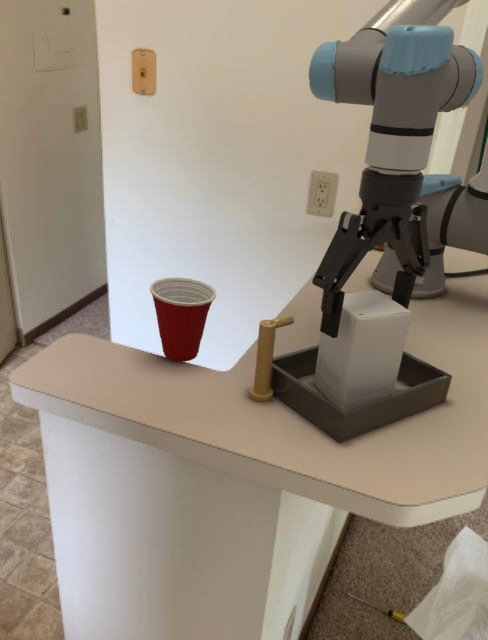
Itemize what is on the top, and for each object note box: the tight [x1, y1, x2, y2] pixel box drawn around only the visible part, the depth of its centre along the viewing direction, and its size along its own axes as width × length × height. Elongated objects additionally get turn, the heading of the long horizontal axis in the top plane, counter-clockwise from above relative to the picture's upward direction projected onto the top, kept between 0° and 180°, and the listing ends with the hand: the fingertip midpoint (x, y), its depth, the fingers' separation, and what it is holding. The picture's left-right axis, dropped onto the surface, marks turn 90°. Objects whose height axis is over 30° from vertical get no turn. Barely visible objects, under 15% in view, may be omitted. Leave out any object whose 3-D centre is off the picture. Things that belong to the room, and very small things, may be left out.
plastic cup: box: [149, 276, 217, 363], centre depth 101 cm, size 11×11×12 cm
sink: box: [248, 314, 453, 444], centre depth 90 cm, size 25×18×12 cm
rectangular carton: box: [313, 289, 413, 411], centre depth 90 cm, size 9×9×15 cm
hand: (363, 324), depth 87 cm, fingers open, 13 cm apart
